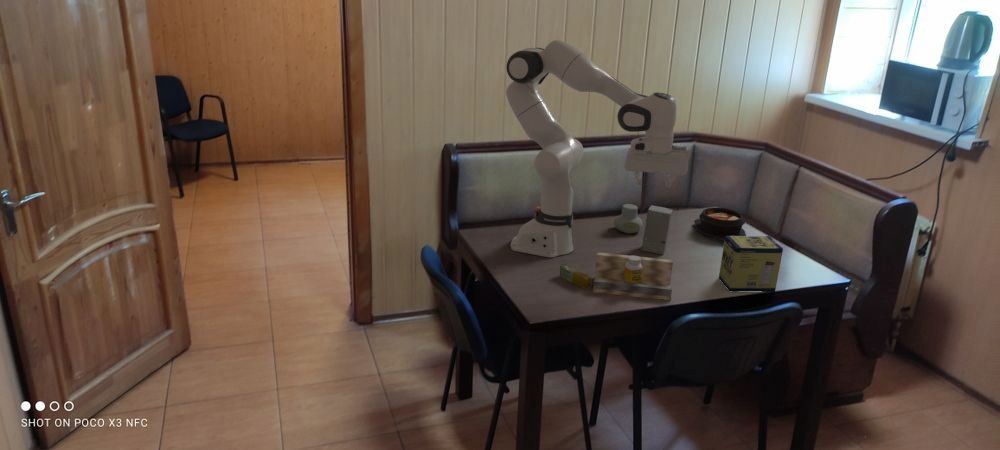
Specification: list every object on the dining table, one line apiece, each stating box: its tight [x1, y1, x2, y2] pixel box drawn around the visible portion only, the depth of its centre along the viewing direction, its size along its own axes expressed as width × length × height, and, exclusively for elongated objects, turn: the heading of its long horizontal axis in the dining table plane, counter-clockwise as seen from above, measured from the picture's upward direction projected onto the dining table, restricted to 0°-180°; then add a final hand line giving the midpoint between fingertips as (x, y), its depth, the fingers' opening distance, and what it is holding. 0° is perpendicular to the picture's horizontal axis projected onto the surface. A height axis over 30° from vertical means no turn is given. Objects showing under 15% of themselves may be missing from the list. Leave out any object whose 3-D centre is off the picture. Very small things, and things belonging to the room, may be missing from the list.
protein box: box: [718, 235, 784, 293], centre depth 234 cm, size 10×16×16 cm
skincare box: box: [641, 204, 674, 255], centre depth 259 cm, size 8×7×16 cm
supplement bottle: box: [624, 255, 642, 284], centre depth 229 cm, size 5×5×10 cm
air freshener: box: [613, 203, 644, 235], centre depth 277 cm, size 11×8×10 cm
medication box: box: [559, 263, 592, 290], centre depth 233 cm, size 12×3×4 cm, turn 39°
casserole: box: [693, 207, 747, 242], centre depth 278 cm, size 25×19×8 cm
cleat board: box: [592, 251, 674, 301], centre depth 229 cm, size 24×11×9 cm, turn 80°
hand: (653, 185), depth 237 cm, fingers open, 8 cm apart
